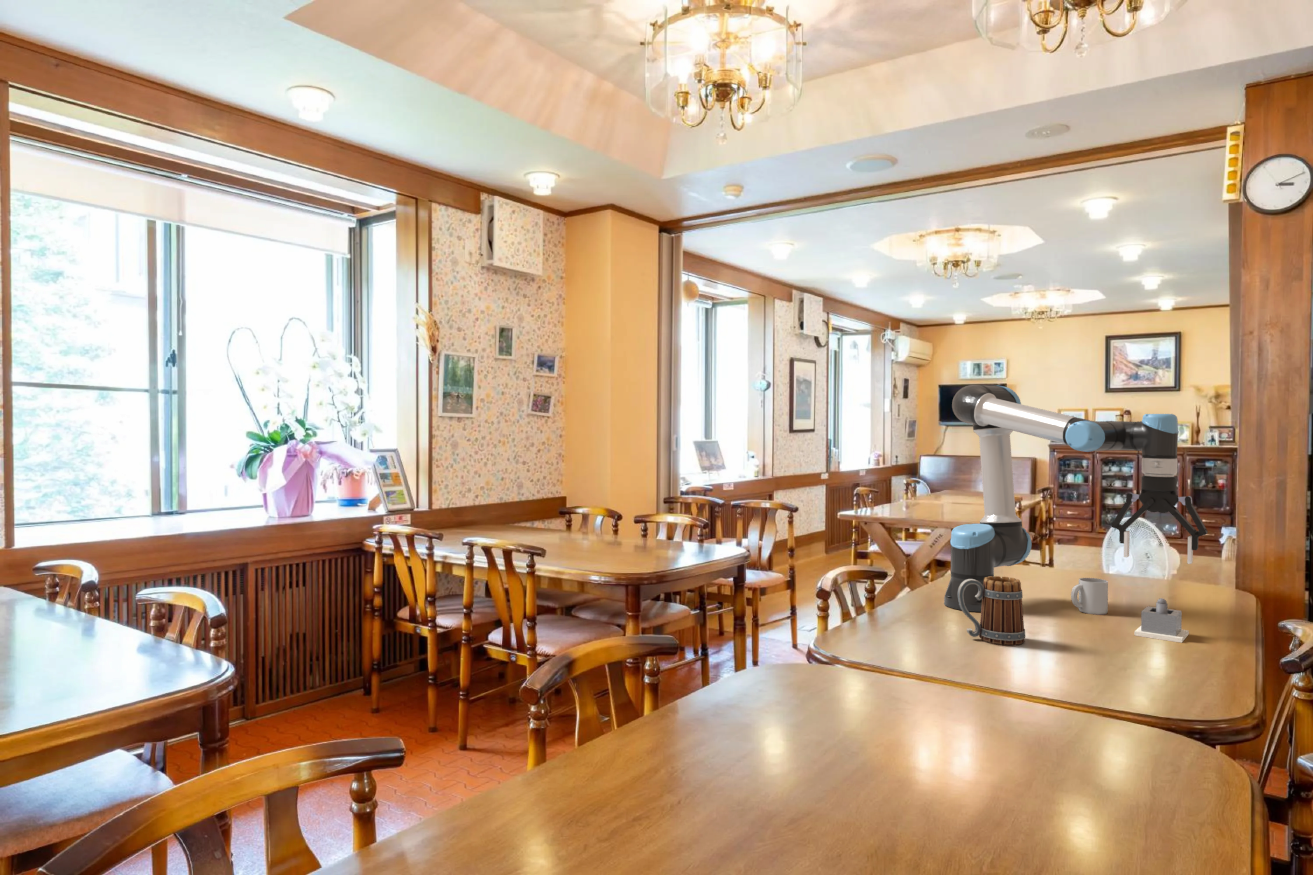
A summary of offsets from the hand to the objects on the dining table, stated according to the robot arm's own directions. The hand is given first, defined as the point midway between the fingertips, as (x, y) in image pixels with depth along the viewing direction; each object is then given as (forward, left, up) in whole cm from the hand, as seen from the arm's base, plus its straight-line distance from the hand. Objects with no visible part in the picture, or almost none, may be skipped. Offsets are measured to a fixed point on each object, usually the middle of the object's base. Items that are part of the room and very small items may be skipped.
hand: (1157, 559), depth 198 cm
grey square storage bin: (+1, +1, -18) cm, 18 cm away
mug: (-29, -33, -19) cm, 48 cm away
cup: (-19, +15, -19) cm, 31 cm away
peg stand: (+1, 0, -19) cm, 19 cm away
